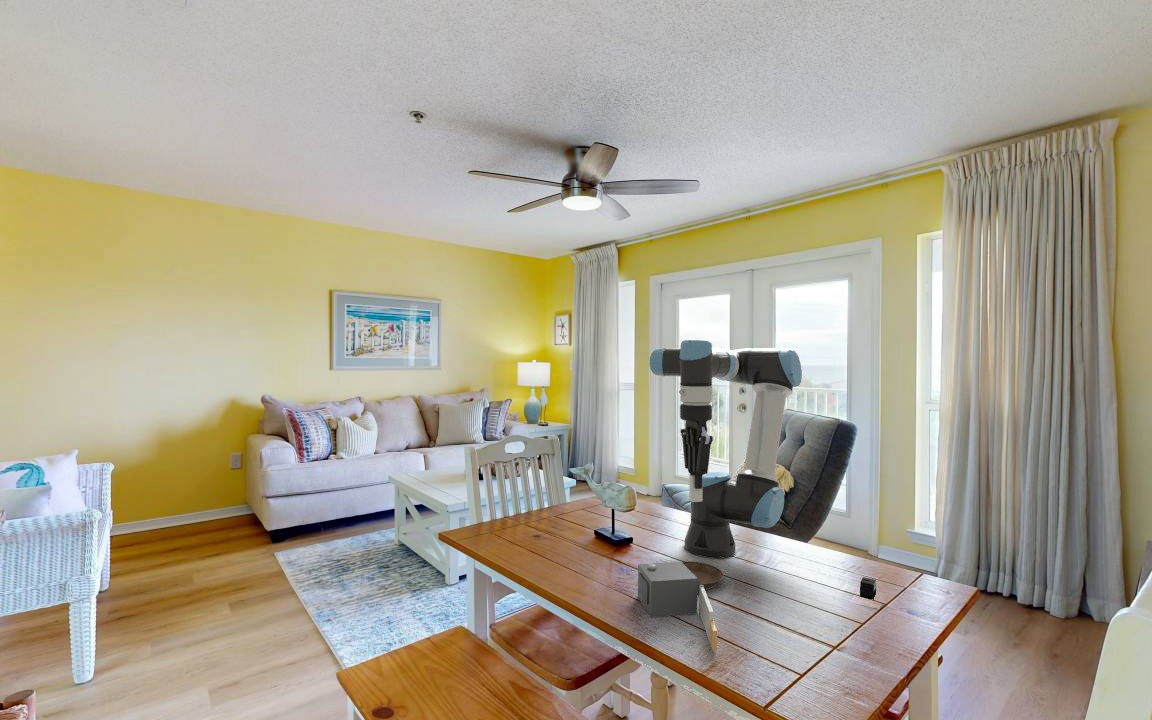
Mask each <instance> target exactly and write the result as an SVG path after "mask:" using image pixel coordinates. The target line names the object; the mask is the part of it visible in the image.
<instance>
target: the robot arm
mask: <svg viewBox="0 0 1152 720" xmlns="http://www.w3.org/2000/svg"><path fill="white" fill-rule="evenodd" d="M649 369H650V371H651V372H652V374H654V375H655V376H661V377H679V378H680V382H679V385H680V386H679V387H680V388H679V390H678V393H679V394H680V395H679V396H680V397H679V398H680V402H681V404H680V405H679V419H681V420H682V421H685V424H684V428H680V435H681V440H682V449H683V452H682V453H683V461H684V468H685V469H686V470H687V471H688V473H689V480H688V481H689V482H688V483H689V484H688V485H689V494H688V495H689V497H688V498H689V501H690V523H689V525H688V529H687V532H686V534H685V538H684V549H685V550H686V551H687V552H688V553H691V554H693V555H695V556H699V557H703V558H709V557H710V558H711V559H723V558H722V557H724V558H729V557H732V556H734V555H735V554H736V542H735V538H734V536H733V535H734V534H733V533H732V529H731V525H730V523H731V521H733V522H736V523H737V522H738V523H741V524H746V525H750V526H753V527H758V528H759V527H760V528H766V529H769V528H772V527H774V526H775V525H776V524H777V523H778V522H779V520H780V518H781V516H782V514H783V511H784V507H785V506H784V505H785V493H784V490H783V489H782V488H780V487H779V485H780V481H779V480H778V479H777V478H776V476H775V473H776V468H777V460H778V454H779V447H780V446H779V445H780V441H781V440H780V439H781V433H782V427H783V426H782V425H783V419H784V412H785V407H786V399H787V398H788V397H789V396H791V395H792V394H793V388H797V387H799V386H800V385H801V383H802V375H803V373H802V365H801V360H800V357H799V355H798V353H797V352H796V351H795V350H794V349H792V348H788V347H787V348H785V347H778V348H777V347H772V348H770V347H769V348H768V347H767V348H766V347H765V348H761V347H760V348H752V347H751V348H739V349H734V350H731V349H727V348H723V347H713V344H712V341H711V340H709V339H684V340H682V341H681V343H680V347H679V348H667V347H666V348H665V347H663V348H656V349H654V350H653V351H652V352H651V354H650V355H649ZM714 378H716V379H717V380H719V381H724V382H725V381H727V382H730V383H731V382H732V383H737V384H743V385H751V388H752V390H753V391H754V393H755V399H754V405H753V411H752V417H751V423H750V429H749V435H748V442H747V443H748V444H747V447H746V453H745V459H744V467H743V469H742V470H741V471H739V472H738V473H737V476H736V479H735V480H734V479H732V477H731V475H730V473H727V472H721V471H720V472H713V471H712V472H709V466H710V465H709V463H710V455H711V448H712V442H713V441H714V437H713V435H709V434H708V425H707V423H708V422H709V421H711V420H712V419H713V406H712V402H713V379H714ZM734 553H735V554H734ZM733 554H734V555H733ZM731 555H732V556H731ZM728 556H729V557H728Z"/></svg>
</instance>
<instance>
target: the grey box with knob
mask: <svg viewBox="0 0 1152 720" xmlns="http://www.w3.org/2000/svg"><path fill="white" fill-rule="evenodd" d="M682 562H683V561H670V562H669V561H668V562H656V563H655V562H654V563H651V562H650V563H639V564H637V599H638V600H639V601H640V603H641V604H642V606H643V607H644V609H645V610H646V612H647V614H648V615H649V616H650V617H651V618H655V617H670V616H681V615H682V616H683V615H694V614H698V596H699V585H700V583H699V580H698V577H697V576H696V575H695V574H693V573H692V572H691V571H690V570H689V569H688V568H687V567H686V566H685V565H684V564H683V563H682Z"/></svg>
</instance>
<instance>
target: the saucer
mask: <svg viewBox="0 0 1152 720" xmlns="http://www.w3.org/2000/svg"><path fill="white" fill-rule="evenodd" d="M681 562H682V563H683V564H684V565H685V566H686V567H687V568H688V569H689V570H690V571H691V572H692V573H693V574H695V575H696V576H697V577H698V580H699V583H700V585H704V589H705V590H709V588H710V589H711V588H713V587H715V586H717V585H718V584H719V583H720V582H721V581H722V579H723V578H724V572H723V571H722V569H720V568H718V567H716V566H714V565H712V564H708V563H705V562H699V561H690V560H689V561H688V560H687V561H681Z"/></svg>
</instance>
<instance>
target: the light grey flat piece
mask: <svg viewBox="0 0 1152 720" xmlns="http://www.w3.org/2000/svg"><path fill="white" fill-rule="evenodd" d="M698 599H699V600H698V604H699V605H698V616H700V619H701V621H702V624H703V627H704V630H705V632H706V636H707V639H708V641H709V644H710V647H711V650H712V652H718V629H717V626H716V624H715V621H714V610H713V607H712V605H711V602H710V600H709V597H708V594H707V592H706V589H704V585H699V595H698Z"/></svg>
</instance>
